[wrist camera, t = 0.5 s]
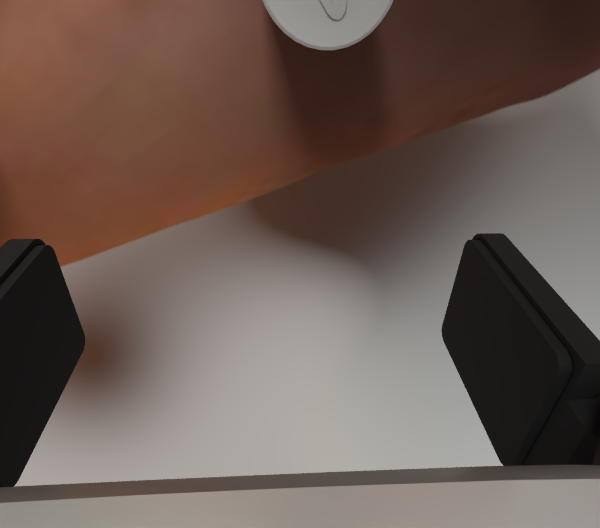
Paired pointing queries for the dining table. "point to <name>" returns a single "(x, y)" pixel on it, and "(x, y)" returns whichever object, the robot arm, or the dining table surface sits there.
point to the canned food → (327, 20)
